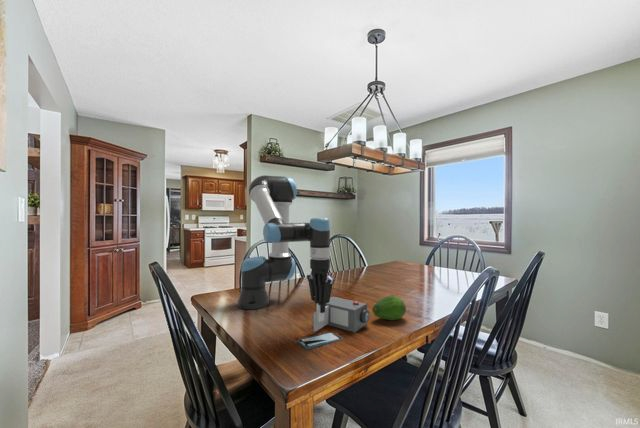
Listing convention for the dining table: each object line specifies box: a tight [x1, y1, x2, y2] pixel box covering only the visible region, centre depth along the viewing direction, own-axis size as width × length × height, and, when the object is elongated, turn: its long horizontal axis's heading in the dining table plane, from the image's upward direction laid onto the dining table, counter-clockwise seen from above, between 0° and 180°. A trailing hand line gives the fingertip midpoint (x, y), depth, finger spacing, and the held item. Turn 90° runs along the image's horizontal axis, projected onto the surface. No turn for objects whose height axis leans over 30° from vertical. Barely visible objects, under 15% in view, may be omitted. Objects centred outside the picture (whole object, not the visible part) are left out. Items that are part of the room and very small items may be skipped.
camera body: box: [325, 296, 370, 333], centre depth 116 cm, size 19×10×9 cm, turn 53°
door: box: [312, 305, 329, 332], centre depth 110 cm, size 10×2×7 cm, turn 147°
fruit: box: [371, 295, 407, 321], centre depth 120 cm, size 15×10×10 cm, turn 107°
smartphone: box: [297, 331, 343, 350], centre depth 100 cm, size 7×1×15 cm
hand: (320, 320), depth 107 cm, fingers closed
